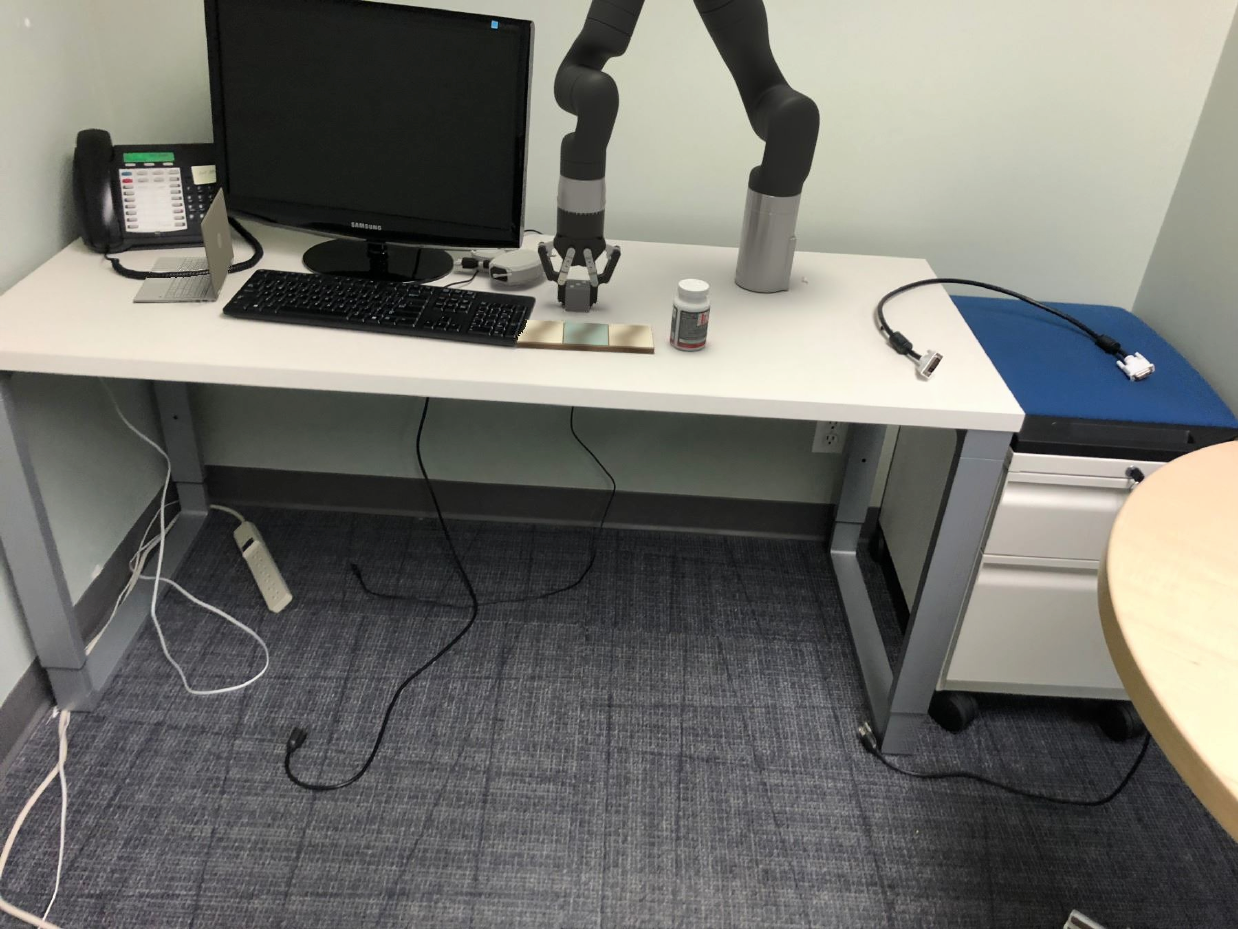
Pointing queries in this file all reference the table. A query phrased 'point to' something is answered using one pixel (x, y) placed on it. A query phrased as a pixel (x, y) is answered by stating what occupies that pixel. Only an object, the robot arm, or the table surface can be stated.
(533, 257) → the robot toy
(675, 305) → the pill bottle
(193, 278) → the laptop
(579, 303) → the die
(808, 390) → the table surface
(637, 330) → the board
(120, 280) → the table surface
